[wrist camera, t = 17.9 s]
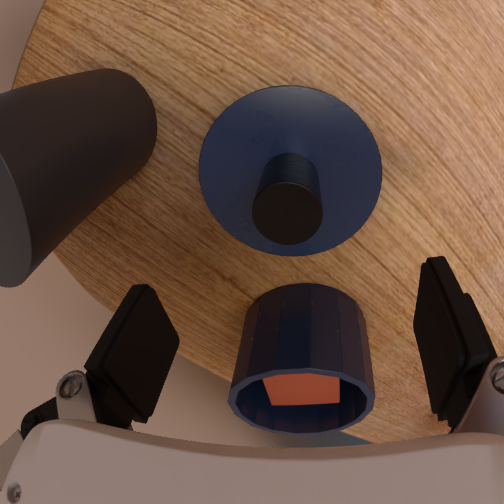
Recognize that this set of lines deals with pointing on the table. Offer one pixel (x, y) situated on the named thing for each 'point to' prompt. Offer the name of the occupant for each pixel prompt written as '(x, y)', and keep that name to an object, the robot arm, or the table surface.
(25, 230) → the riser
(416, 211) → the table surface
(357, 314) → the pot
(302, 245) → the lid
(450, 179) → the table surface
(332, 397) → the block
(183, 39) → the table surface
